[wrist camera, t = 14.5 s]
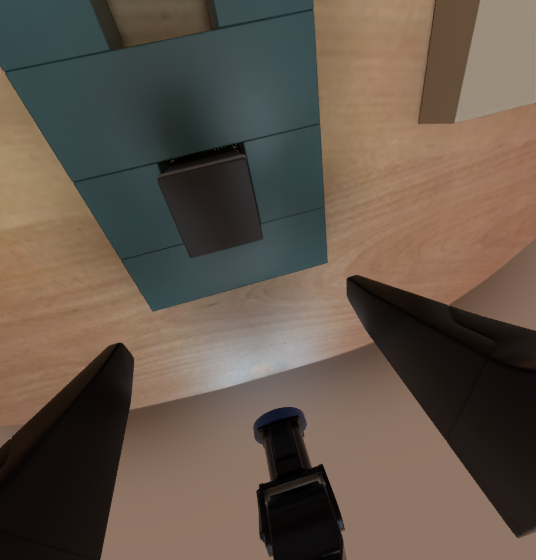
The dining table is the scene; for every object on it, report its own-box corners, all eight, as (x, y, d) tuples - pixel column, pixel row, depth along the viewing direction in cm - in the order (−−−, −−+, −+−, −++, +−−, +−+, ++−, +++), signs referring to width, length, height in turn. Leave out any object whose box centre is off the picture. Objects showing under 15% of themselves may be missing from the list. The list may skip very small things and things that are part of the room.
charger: (247, 204, 19) (265, 240, 13) (195, 218, 18) (189, 260, 13) (233, 145, 16) (247, 156, 11) (173, 159, 16) (154, 178, 10)
